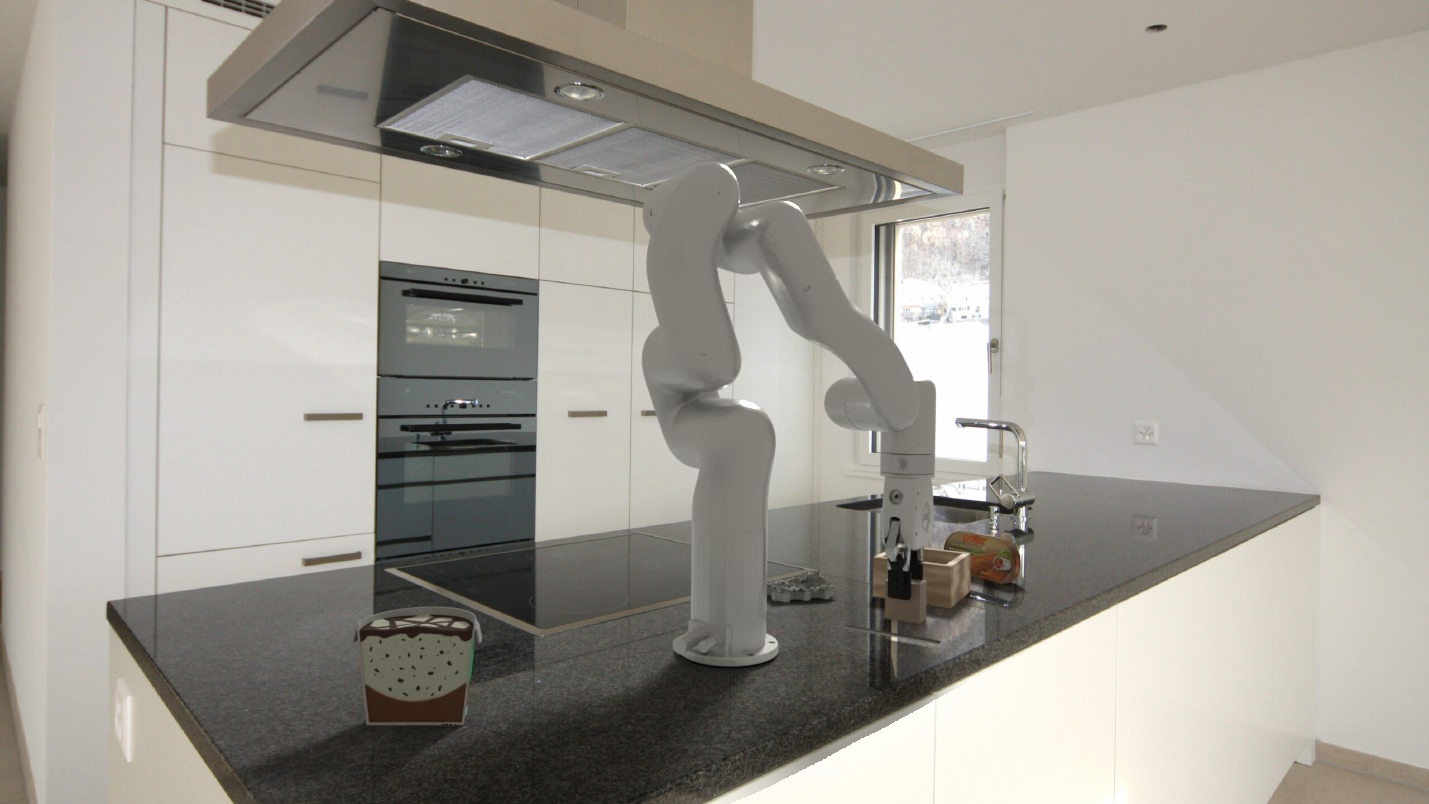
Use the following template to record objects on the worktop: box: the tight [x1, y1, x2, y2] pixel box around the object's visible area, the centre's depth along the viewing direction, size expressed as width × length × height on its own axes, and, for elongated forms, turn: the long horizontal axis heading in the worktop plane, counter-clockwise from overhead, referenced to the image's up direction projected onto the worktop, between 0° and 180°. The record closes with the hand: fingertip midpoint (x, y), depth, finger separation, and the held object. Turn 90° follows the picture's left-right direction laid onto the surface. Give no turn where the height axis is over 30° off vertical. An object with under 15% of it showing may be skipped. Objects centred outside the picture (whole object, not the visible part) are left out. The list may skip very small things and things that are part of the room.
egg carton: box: [767, 570, 837, 603], centre depth 126 cm, size 11×8×4 cm
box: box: [872, 544, 971, 609], centre depth 127 cm, size 12×12×7 cm
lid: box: [844, 579, 942, 646], centre depth 113 cm, size 13×13×7 cm
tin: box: [943, 530, 1021, 585], centre depth 140 cm, size 15×3×8 cm, turn 31°
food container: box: [350, 606, 483, 726], centre depth 81 cm, size 12×6×10 cm, turn 92°
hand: (905, 593), depth 113 cm, fingers open, 4 cm apart
